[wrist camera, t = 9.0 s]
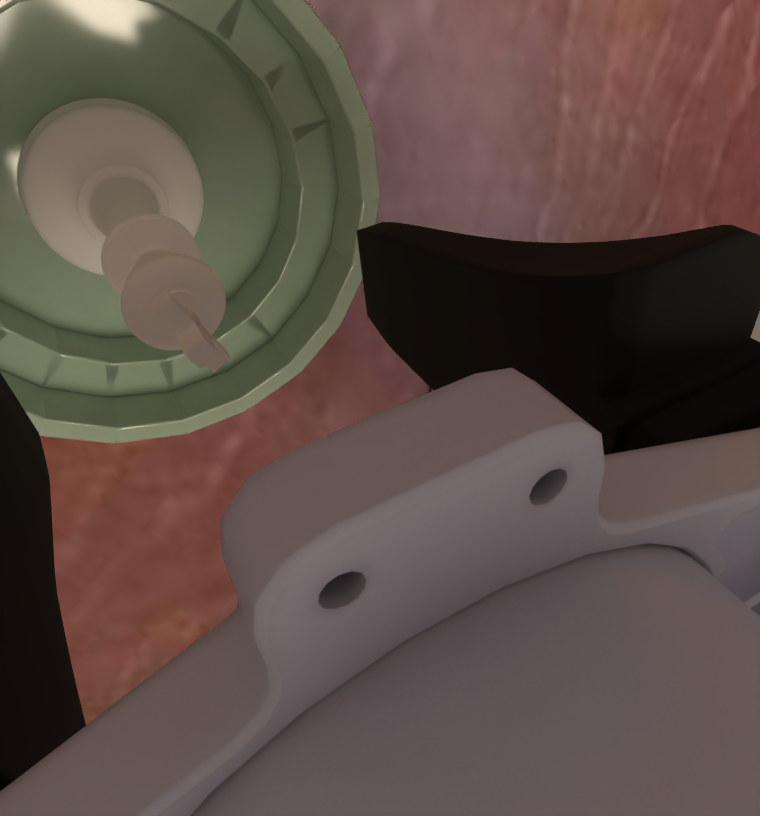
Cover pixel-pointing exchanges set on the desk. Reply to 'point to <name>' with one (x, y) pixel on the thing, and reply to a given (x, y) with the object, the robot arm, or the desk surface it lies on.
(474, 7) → the desk surface
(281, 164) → the bowl
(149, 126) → the chess piece
